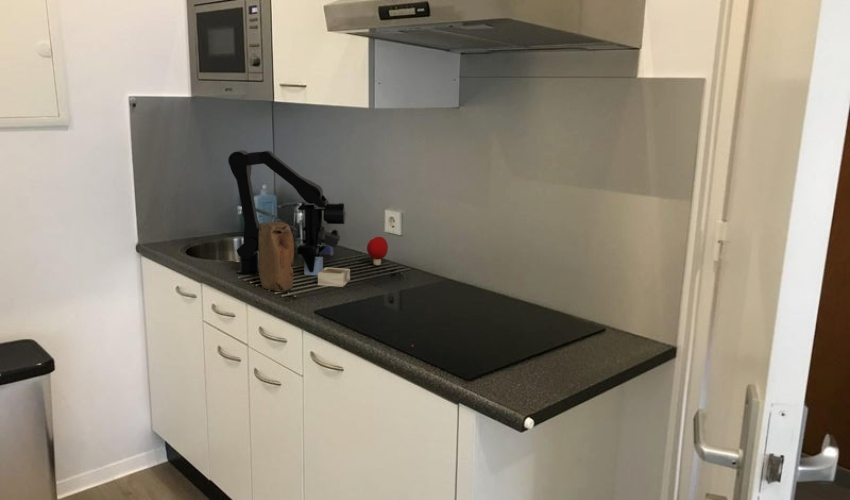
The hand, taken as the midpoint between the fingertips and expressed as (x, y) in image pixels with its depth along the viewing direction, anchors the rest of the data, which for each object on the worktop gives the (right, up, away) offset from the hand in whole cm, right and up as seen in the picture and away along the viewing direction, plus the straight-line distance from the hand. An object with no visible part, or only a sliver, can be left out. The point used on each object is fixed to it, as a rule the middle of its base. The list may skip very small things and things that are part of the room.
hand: (313, 270), depth 223 cm
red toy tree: (+20, +1, +12) cm, 24 cm away
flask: (-2, +5, +28) cm, 28 cm away
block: (-8, -5, -18) cm, 20 cm away
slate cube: (0, -1, 0) cm, 1 cm away
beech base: (+8, -4, -10) cm, 14 cm away
